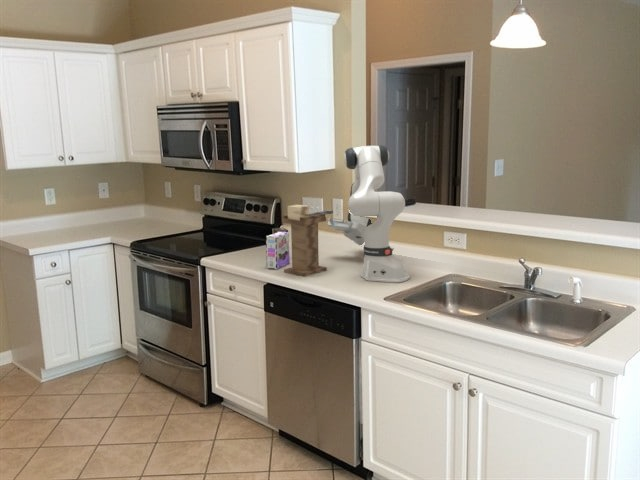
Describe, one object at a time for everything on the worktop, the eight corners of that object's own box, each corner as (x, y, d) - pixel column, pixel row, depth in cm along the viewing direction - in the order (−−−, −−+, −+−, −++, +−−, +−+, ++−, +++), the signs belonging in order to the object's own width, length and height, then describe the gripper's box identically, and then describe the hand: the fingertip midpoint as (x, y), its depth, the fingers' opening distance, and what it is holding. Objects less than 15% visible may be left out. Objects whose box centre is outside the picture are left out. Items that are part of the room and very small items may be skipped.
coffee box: (289, 260, 307) (288, 229, 304) (277, 261, 305) (276, 230, 302) (284, 256, 316) (283, 227, 313) (272, 258, 313) (271, 228, 310)
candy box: (276, 269, 287) (275, 236, 284) (266, 268, 289) (265, 235, 286) (290, 263, 299) (289, 231, 296) (279, 262, 302) (278, 231, 299)
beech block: (325, 212, 295) (324, 200, 293) (337, 213, 289) (337, 201, 288) (287, 218, 276) (287, 206, 275) (300, 220, 270) (299, 207, 269)
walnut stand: (307, 266, 293) (306, 211, 288) (326, 270, 285) (325, 213, 279) (284, 272, 282) (282, 215, 276) (303, 276, 273) (302, 217, 268)
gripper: (338, 223, 313) (323, 212, 303) (369, 226, 299) (354, 215, 289) (335, 234, 312) (319, 223, 302) (365, 238, 298) (350, 227, 288)
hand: (336, 220), depth 296 cm, fingers open, 8 cm apart
